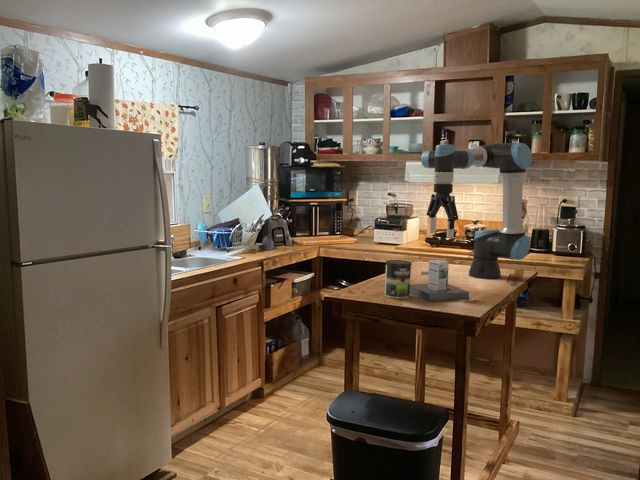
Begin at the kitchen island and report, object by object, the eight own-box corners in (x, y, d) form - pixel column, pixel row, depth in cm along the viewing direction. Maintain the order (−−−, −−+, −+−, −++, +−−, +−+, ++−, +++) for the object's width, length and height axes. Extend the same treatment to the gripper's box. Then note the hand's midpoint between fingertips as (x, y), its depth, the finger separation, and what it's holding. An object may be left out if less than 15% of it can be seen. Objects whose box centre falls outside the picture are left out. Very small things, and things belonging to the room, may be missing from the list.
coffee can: (414, 298, 220) (415, 263, 219) (390, 299, 217) (391, 264, 216) (403, 292, 230) (404, 259, 228) (380, 293, 227) (381, 260, 225)
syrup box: (437, 297, 223) (439, 262, 221) (427, 294, 227) (428, 260, 226) (447, 296, 226) (449, 261, 224) (437, 293, 231) (438, 259, 229)
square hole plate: (444, 289, 238) (445, 282, 237) (468, 299, 221) (469, 292, 220) (407, 291, 232) (408, 284, 232) (429, 301, 215) (429, 294, 215)
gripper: (419, 182, 233) (417, 231, 236) (452, 184, 209) (449, 239, 212) (435, 182, 235) (433, 231, 238) (469, 184, 212) (466, 238, 215)
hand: (441, 235), depth 225 cm, fingers open, 13 cm apart
